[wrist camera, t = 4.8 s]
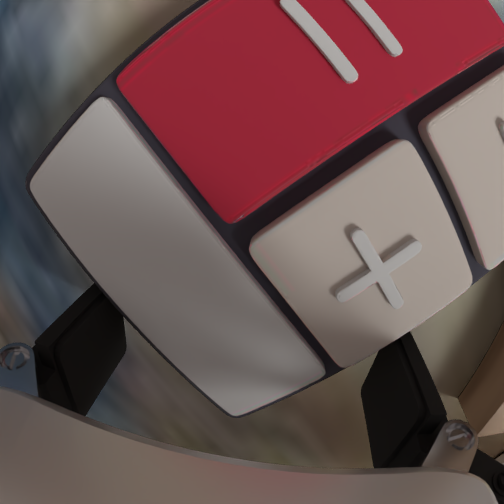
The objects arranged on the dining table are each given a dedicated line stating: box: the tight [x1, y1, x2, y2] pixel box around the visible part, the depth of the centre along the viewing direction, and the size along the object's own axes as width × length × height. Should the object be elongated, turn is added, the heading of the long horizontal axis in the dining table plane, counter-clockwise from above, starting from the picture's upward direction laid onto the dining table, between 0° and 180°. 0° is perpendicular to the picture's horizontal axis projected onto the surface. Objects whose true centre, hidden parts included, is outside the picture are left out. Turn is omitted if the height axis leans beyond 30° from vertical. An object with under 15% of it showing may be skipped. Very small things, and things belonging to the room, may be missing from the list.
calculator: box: [26, 0, 504, 418], centre depth 8 cm, size 11×4×15 cm
